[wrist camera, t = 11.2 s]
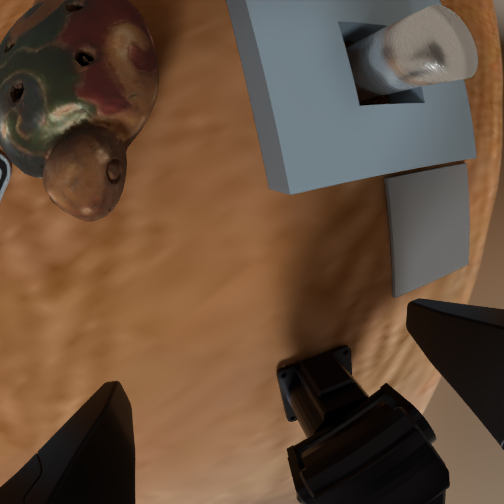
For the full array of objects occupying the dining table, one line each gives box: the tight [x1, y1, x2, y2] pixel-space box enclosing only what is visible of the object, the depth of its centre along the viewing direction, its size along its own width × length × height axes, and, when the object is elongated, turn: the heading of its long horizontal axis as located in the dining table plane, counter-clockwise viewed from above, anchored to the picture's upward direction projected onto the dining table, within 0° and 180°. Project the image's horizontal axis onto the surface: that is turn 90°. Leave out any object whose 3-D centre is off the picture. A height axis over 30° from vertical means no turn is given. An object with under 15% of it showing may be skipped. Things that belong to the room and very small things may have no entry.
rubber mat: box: [384, 163, 469, 298], centre depth 24 cm, size 10×10×1 cm
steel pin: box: [346, 5, 478, 101], centre depth 15 cm, size 4×4×10 cm
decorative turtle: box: [0, 0, 159, 221], centre depth 13 cm, size 10×15×8 cm, turn 23°
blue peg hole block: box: [226, 0, 477, 195], centre depth 17 cm, size 14×16×4 cm
